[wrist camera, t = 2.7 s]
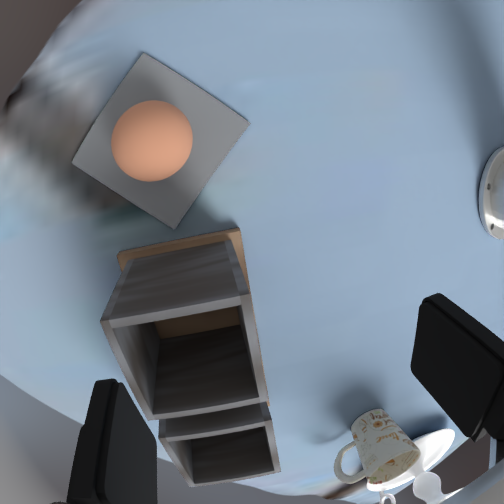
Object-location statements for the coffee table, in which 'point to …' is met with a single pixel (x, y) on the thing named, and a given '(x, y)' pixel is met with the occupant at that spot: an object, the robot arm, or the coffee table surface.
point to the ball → (151, 140)
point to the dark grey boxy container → (195, 355)
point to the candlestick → (422, 469)
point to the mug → (378, 449)
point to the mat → (203, 148)
